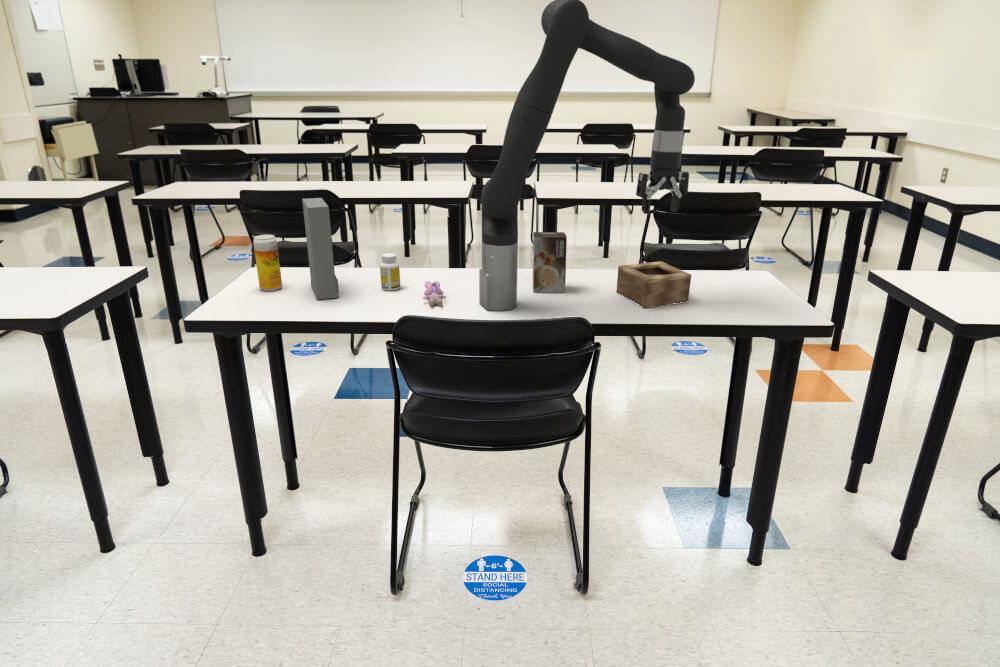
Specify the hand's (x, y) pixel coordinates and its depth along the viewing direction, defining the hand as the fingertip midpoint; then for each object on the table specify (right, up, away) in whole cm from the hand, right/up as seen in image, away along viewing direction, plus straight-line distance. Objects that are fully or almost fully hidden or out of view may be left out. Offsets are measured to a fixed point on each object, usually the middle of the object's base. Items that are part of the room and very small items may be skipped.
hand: (660, 212), depth 170 cm
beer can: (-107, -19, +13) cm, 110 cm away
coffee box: (-28, -19, +15) cm, 37 cm away
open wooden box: (0, -22, +9) cm, 24 cm away
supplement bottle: (-73, -19, +15) cm, 77 cm away
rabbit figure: (-60, -23, +6) cm, 65 cm away
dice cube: (0, -21, +9) cm, 23 cm away
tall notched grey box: (-91, -20, +11) cm, 94 cm away
